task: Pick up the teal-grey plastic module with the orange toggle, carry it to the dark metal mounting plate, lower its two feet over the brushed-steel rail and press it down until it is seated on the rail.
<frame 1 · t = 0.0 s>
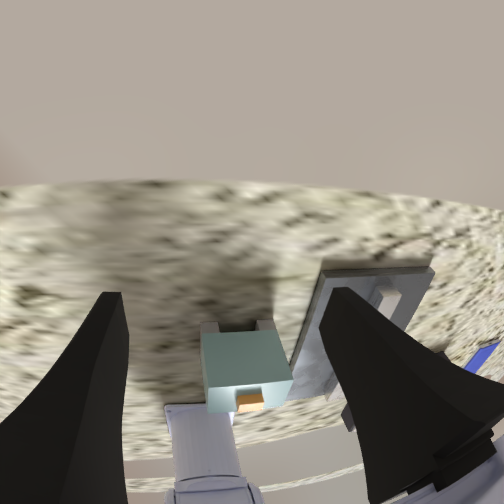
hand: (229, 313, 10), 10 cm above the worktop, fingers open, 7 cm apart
module: (235, 337, 26), on the worktop
hard drive: (469, 361, 47), on the worktop
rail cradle: (350, 339, 30), on the worktop
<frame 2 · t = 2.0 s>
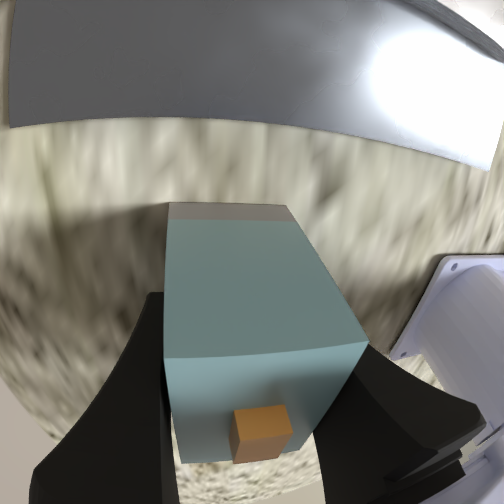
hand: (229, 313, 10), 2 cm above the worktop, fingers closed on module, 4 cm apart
module: (222, 274, 12), on the worktop, touching gripper
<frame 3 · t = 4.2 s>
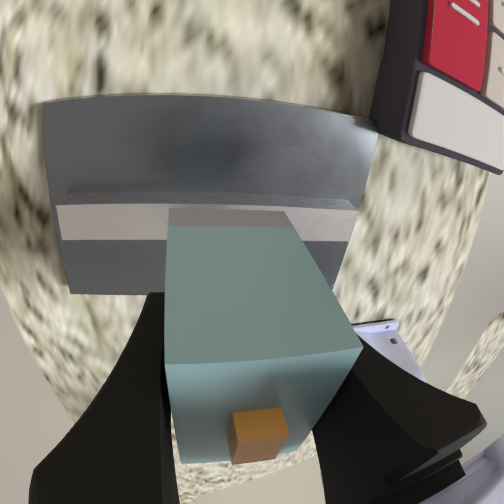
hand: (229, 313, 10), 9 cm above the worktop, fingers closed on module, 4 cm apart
module: (221, 278, 12), point 7 cm above the worktop, touching gripper
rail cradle: (208, 201, 18), on the worktop
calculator: (445, 47, 15), on the worktop
when the fingers open (3 cm above the worktop, at t = 6.8 s): module stays where it is, resting on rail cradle.
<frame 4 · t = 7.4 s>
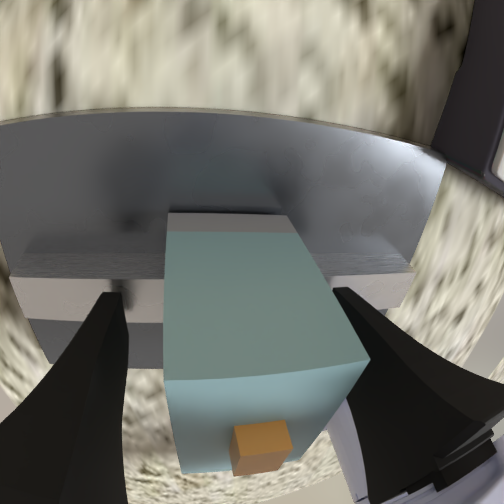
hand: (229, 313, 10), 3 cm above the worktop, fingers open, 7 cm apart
module: (222, 284, 12), point 1 cm above the worktop, touching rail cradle
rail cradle: (219, 260, 13), on the worktop
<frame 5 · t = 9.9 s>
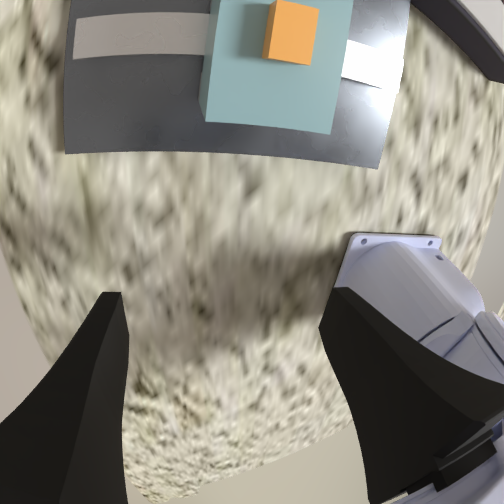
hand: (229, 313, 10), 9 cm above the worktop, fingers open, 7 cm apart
module: (247, 45, 12), point 1 cm above the worktop, touching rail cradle
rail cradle: (243, 42, 13), on the worktop
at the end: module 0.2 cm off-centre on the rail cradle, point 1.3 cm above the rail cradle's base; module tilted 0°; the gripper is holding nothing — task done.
